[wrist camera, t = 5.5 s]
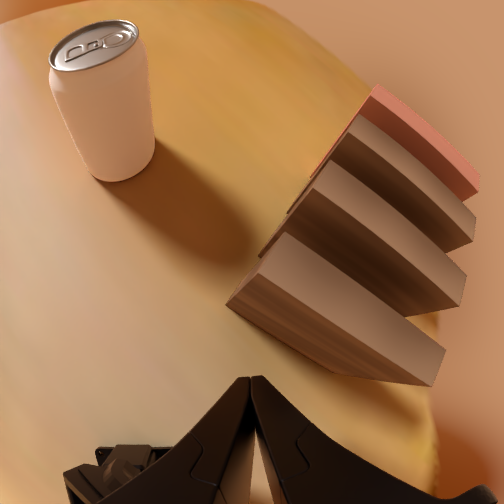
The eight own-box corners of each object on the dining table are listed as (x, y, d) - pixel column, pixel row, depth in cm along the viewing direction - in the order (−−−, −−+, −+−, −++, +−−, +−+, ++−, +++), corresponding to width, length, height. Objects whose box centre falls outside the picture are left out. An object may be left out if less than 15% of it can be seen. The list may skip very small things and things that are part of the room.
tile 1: (333, 372, 21) (431, 387, 11) (225, 304, 21) (258, 272, 11) (344, 350, 22) (446, 349, 12) (240, 282, 22) (285, 231, 12)
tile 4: (394, 240, 26) (478, 191, 16) (309, 177, 26) (370, 95, 16) (399, 225, 27) (479, 174, 16) (318, 163, 27) (377, 83, 16)
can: (164, 168, 23) (157, 51, 12) (92, 195, 21) (39, 92, 10) (145, 116, 24) (137, 8, 13) (81, 139, 23) (44, 38, 11)
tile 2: (358, 324, 23) (459, 306, 13) (257, 256, 23) (312, 187, 12) (367, 303, 24) (466, 275, 13) (271, 236, 24) (330, 159, 13)
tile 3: (378, 279, 24) (473, 241, 14) (286, 213, 24) (347, 131, 14) (385, 261, 25) (476, 217, 15) (297, 196, 25) (358, 113, 15)
